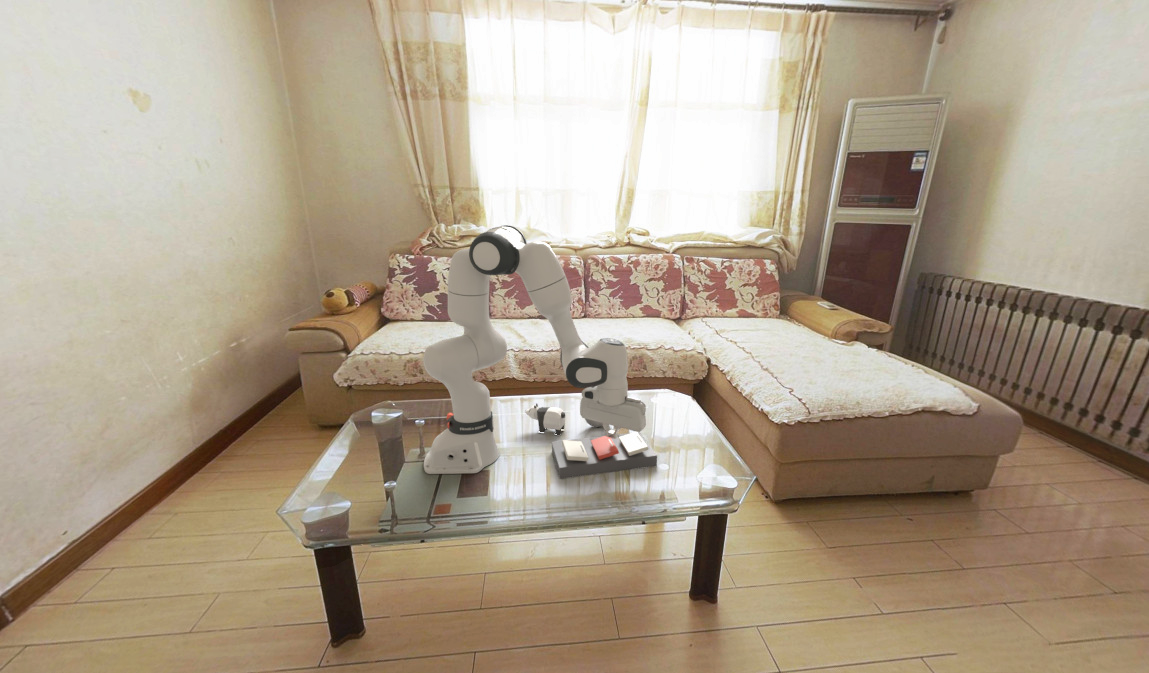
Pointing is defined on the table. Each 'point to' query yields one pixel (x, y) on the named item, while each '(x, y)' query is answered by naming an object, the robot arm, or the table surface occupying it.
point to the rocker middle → (604, 447)
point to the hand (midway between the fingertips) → (612, 437)
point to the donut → (594, 423)
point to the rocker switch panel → (603, 465)
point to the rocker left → (574, 450)
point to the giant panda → (548, 417)
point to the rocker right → (633, 443)
